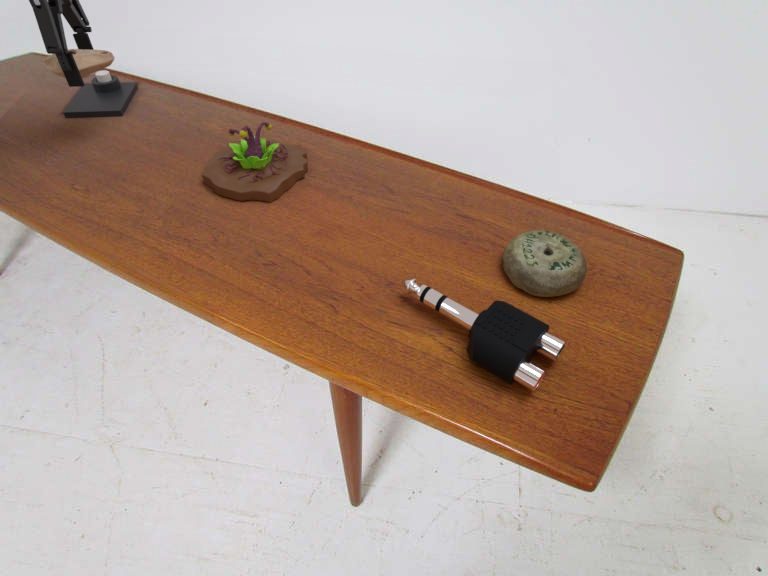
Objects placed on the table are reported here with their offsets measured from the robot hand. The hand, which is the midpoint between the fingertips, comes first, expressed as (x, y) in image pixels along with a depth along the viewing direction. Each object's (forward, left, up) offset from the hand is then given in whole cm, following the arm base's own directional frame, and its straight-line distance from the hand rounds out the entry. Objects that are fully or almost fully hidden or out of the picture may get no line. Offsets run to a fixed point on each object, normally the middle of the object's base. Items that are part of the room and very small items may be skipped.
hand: (85, 75), depth 103 cm
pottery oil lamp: (0, +1, -1) cm, 1 cm away
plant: (+34, -19, -14) cm, 41 cm away
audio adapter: (+68, -65, -14) cm, 95 cm away
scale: (-6, +17, -13) cm, 22 cm away
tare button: (-6, +22, -10) cm, 25 cm away
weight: (+83, -53, -14) cm, 100 cm away
